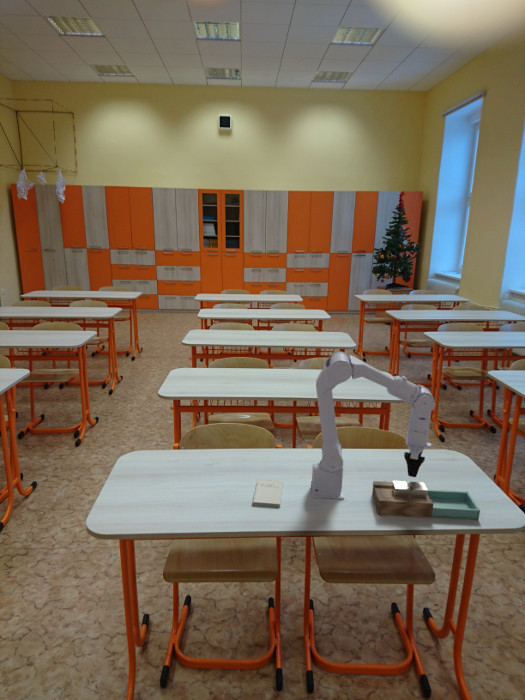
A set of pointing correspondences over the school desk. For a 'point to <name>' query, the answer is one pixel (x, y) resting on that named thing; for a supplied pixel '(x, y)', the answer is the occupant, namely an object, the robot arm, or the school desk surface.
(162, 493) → the school desk surface
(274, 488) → the external hard drive
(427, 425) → the robot arm
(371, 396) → the school desk surface
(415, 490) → the light grey block
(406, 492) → the grey square block
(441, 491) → the tray
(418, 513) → the channel block
